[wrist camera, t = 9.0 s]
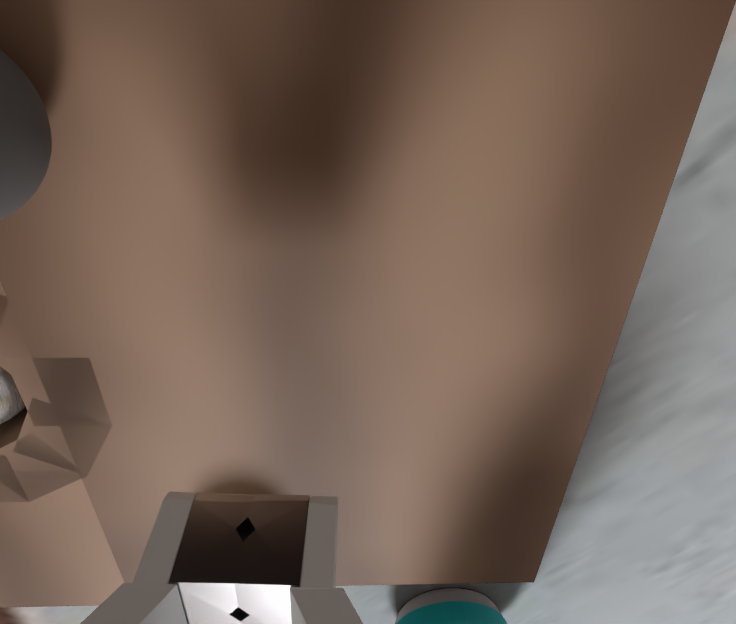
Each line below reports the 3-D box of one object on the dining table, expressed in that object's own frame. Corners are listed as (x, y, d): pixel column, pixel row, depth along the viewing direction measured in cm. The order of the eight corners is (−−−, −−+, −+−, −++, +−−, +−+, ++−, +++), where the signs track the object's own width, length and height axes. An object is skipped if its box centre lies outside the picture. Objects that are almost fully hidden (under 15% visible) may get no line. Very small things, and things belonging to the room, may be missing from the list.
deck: (683, -79, 11) (765, -84, 9) (511, 535, 22) (528, 597, 20) (-627, -116, 10) (-888, -132, 8) (-108, 544, 21) (-157, 610, 19)
